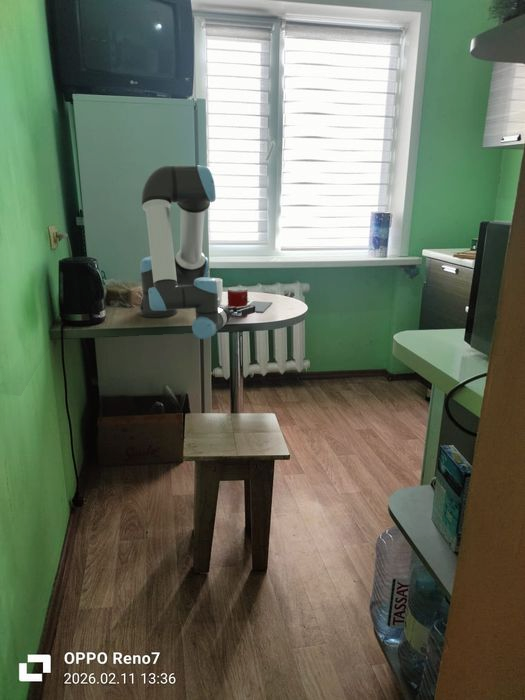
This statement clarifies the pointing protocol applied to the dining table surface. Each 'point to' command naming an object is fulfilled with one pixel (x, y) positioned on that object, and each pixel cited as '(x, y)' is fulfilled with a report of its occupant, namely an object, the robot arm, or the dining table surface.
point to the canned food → (237, 297)
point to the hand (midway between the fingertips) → (235, 302)
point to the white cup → (219, 288)
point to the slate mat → (260, 306)
